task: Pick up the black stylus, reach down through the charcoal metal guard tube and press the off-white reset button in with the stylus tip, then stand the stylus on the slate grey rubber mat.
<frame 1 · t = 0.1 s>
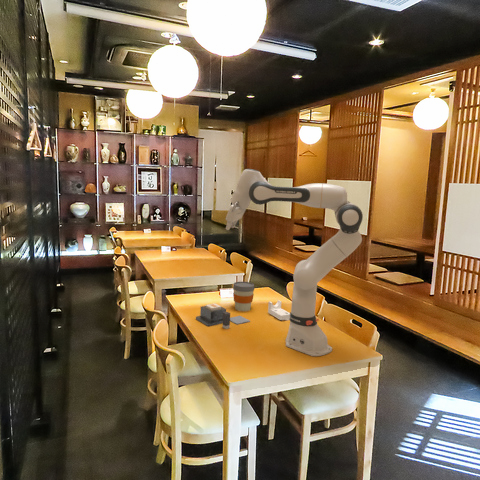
hand: (229, 228, 183), 52 cm above the table, tool tilted 20°, fingers open, 8 cm apart
rest mat: (238, 320, 208), on the table
reusable coffee cup: (242, 309, 227), on the table
bracket: (279, 317, 217), on the table
stylus: (226, 327, 196), on the table
reset button: (213, 310, 205), point 6 cm above the table, slide at 0.0 cm
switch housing: (212, 320, 206), on the table
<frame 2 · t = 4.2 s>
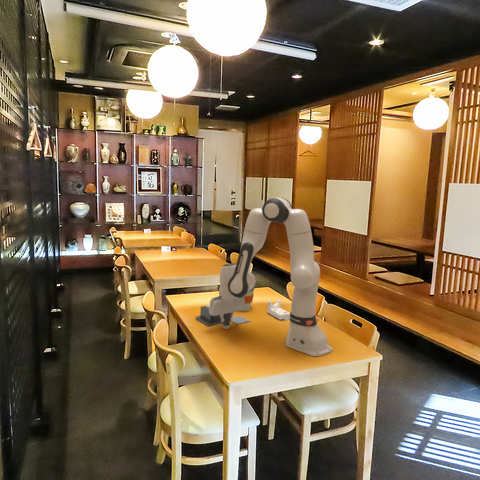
hand: (226, 321, 196), 4 cm above the table, tool pointing down, fingers closed on stylus, 3 cm apart
stylus: (226, 327, 196), on the table, touching gripper
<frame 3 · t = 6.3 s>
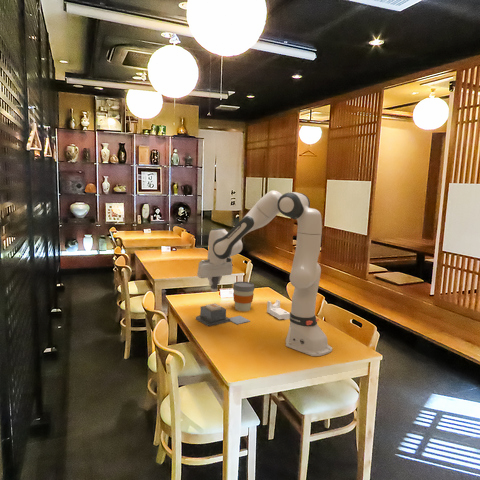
hand: (214, 284, 202), 20 cm above the table, tool pointing down, fingers closed on stylus, 3 cm apart
stylus: (213, 291, 203), point 16 cm above the table, touching gripper
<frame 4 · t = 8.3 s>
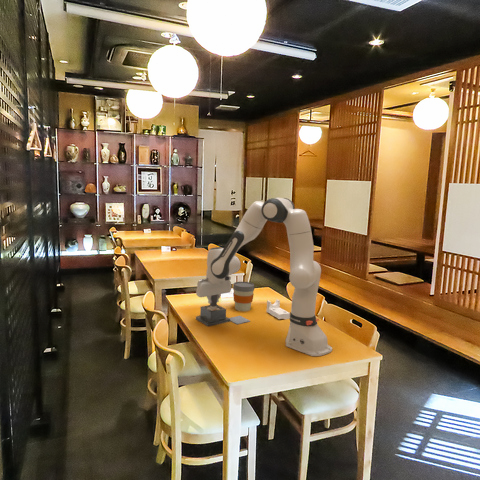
hand: (213, 302, 204), 10 cm above the table, tool pointing down, fingers closed on stylus, 3 cm apart
stylus: (213, 308, 205), point 7 cm above the table, touching gripper, reset button
reset button: (213, 313, 205), point 4 cm above the table, slide at 1.7 cm, touching stylus
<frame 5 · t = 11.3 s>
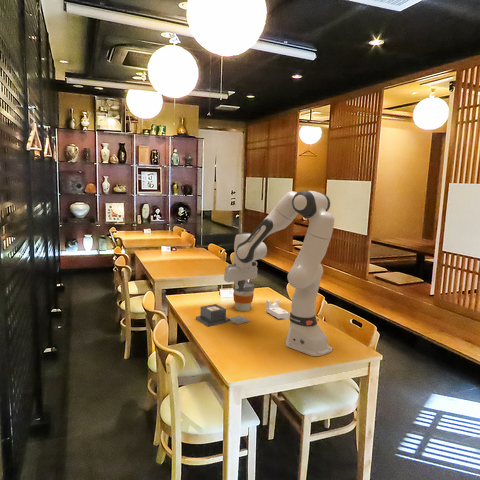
hand: (240, 288, 205), 18 cm above the table, tool pointing down, fingers closed on stylus, 3 cm apart
stylus: (239, 293, 206), point 15 cm above the table, touching gripper
reset button: (213, 313, 205), point 4 cm above the table, slide at 1.7 cm
when the fingers open (6 cm above the table, at t = 13.6 s): stylus drops 2 cm, resting on rest mat.
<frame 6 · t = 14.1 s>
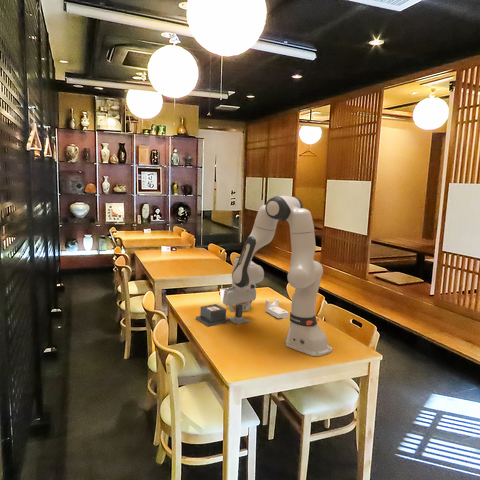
hand: (239, 310, 207), 6 cm above the table, tool pointing down, fingers open, 8 cm apart
stylus: (238, 319, 208), resting on rest mat
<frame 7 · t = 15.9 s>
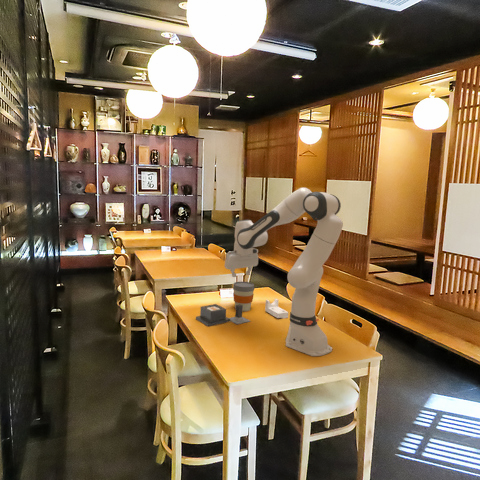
hand: (241, 275, 204), 25 cm above the table, tool pointing down, fingers open, 8 cm apart
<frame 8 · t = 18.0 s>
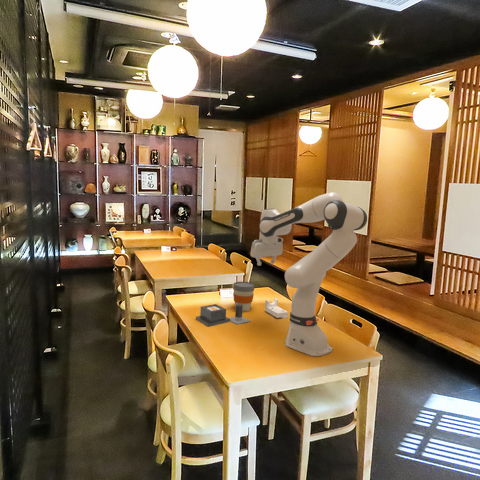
hand: (265, 264, 206), 31 cm above the table, tool pointing down, fingers open, 8 cm apart
at the end: reset button slide at 1.7 cm; stylus inside the target area on the rest mat (0.0 cm from its centre), point 0.5 cm above the rest mat's base; stylus tilted 0° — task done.
